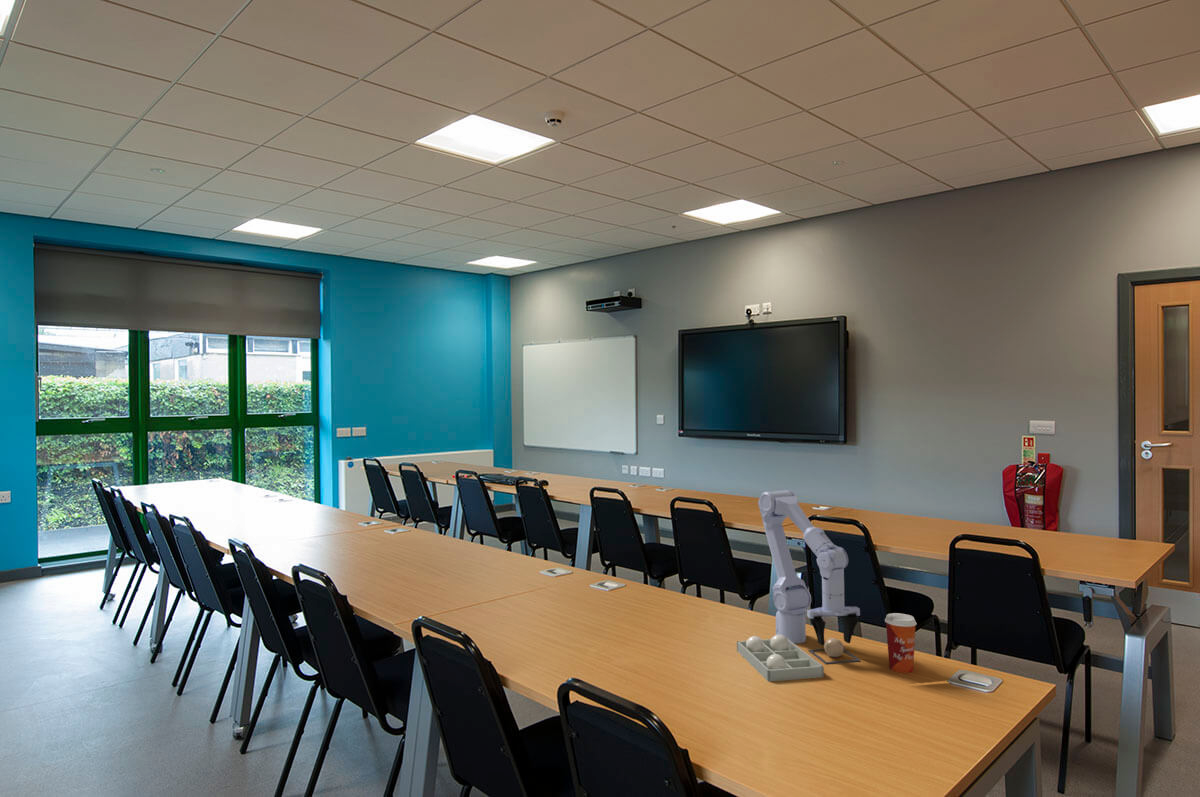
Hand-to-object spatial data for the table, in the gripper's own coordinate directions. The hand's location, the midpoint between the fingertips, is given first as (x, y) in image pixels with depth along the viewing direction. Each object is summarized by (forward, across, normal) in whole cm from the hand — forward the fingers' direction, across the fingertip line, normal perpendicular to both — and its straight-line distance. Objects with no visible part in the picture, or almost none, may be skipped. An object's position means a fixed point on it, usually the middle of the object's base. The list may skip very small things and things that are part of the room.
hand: (834, 643), depth 190 cm
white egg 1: (+3, -21, +5) cm, 22 cm away
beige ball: (+4, 0, 0) cm, 4 cm away
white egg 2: (+3, -14, +5) cm, 15 cm away
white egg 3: (+4, -21, -9) cm, 23 cm away
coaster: (+4, 0, 0) cm, 4 cm away
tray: (+4, -17, -2) cm, 18 cm away
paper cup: (+5, +13, -11) cm, 18 cm away
